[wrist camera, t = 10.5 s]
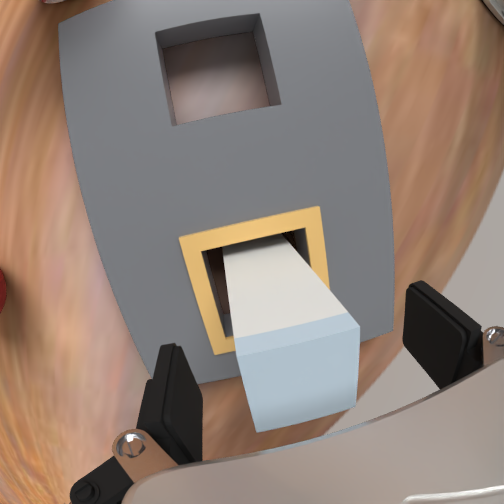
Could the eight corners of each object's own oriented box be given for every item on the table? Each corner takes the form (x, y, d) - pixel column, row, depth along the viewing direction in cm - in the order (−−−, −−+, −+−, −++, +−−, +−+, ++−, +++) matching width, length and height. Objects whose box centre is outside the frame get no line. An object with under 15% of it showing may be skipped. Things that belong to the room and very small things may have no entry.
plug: (280, 233, 20) (360, 326, 9) (287, 286, 22) (355, 406, 10) (222, 244, 20) (236, 356, 9) (233, 298, 21) (256, 432, 10)
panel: (323, -10, 15) (339, -30, 12) (375, 312, 24) (394, 332, 20) (75, 37, 14) (56, 21, 11) (162, 365, 22) (157, 393, 19)
